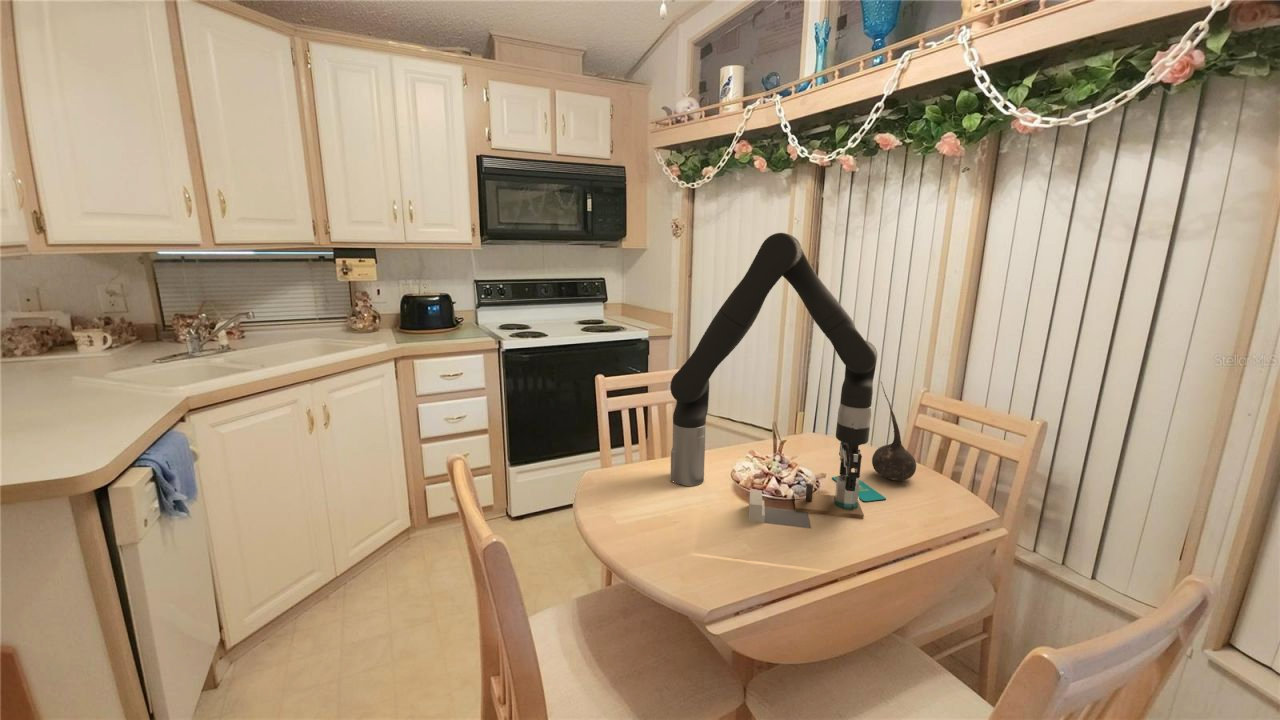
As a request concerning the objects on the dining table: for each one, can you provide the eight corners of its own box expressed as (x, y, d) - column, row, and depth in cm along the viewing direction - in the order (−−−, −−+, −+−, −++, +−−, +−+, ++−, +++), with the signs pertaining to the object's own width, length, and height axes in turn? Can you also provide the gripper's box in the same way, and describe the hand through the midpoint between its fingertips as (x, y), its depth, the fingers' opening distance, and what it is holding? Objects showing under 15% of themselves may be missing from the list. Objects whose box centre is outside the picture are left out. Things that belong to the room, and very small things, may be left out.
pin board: (795, 513, 128) (797, 491, 127) (793, 496, 137) (794, 475, 135) (863, 520, 125) (865, 498, 123) (856, 503, 133) (858, 481, 132)
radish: (855, 472, 152) (865, 375, 145) (894, 468, 155) (906, 372, 148) (881, 489, 141) (893, 385, 134) (923, 484, 144) (936, 382, 138)
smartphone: (863, 501, 133) (830, 476, 148) (863, 503, 133) (830, 479, 148) (887, 498, 135) (852, 474, 149) (887, 501, 135) (852, 477, 149)
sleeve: (836, 508, 127) (838, 482, 126) (832, 498, 132) (835, 473, 131) (859, 510, 126) (861, 484, 125) (854, 500, 131) (857, 475, 130)
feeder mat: (748, 522, 123) (749, 504, 122) (749, 507, 131) (750, 489, 130) (811, 530, 120) (812, 510, 119) (807, 513, 128) (809, 495, 127)
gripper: (833, 411, 132) (827, 469, 136) (842, 430, 119) (835, 494, 122) (863, 414, 131) (857, 472, 134) (876, 433, 117) (868, 497, 120)
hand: (846, 482), depth 128 cm, fingers open, 8 cm apart
